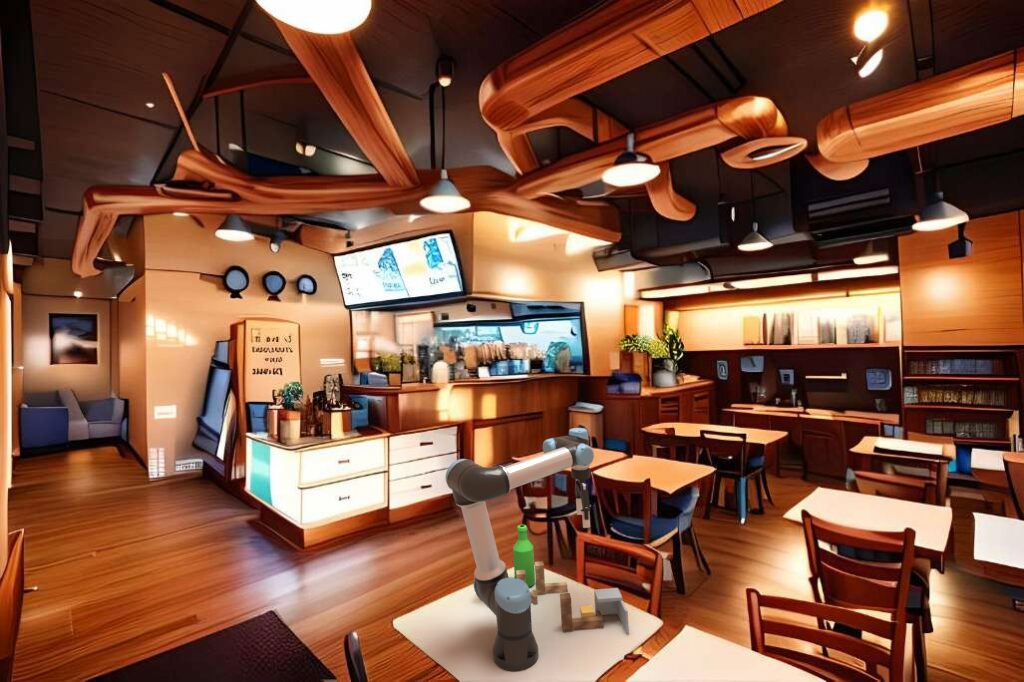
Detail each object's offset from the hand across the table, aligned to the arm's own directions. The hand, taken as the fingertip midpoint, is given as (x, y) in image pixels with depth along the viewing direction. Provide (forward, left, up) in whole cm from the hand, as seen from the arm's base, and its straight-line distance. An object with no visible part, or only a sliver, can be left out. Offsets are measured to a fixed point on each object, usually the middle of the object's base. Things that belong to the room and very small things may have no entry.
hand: (583, 520), depth 190 cm
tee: (-24, +2, -32) cm, 40 cm away
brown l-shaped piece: (-5, -16, -32) cm, 36 cm away
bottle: (-24, +16, -32) cm, 43 cm away
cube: (-3, -14, -32) cm, 35 cm away
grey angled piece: (+5, -17, -32) cm, 36 cm away
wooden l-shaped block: (-13, +8, -32) cm, 35 cm away
